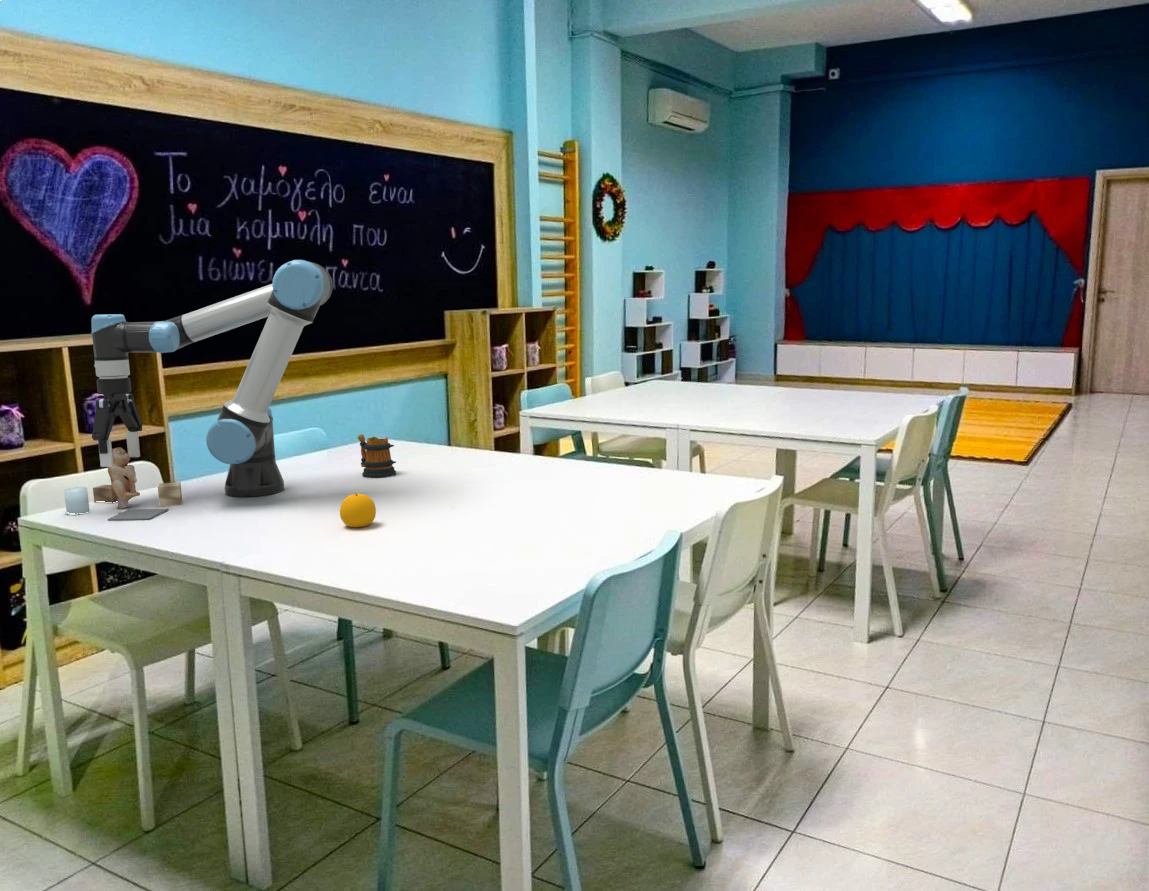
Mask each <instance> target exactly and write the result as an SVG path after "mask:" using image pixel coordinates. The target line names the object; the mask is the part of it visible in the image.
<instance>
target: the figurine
mask: <svg viewBox="0 0 1149 891" xmlns="http://www.w3.org/2000/svg"><path fill="white" fill-rule="evenodd" d="M112 458H113V466H112V467H107V473H108V475H109V477H110V485H111V489H112V491H113V493H114V495H115V497H116V499H117V501H118V502H117V508H118V509H124V508H126V509H127V508H130V506H131V504H130V503H129V501H130V500H131V499H132V498H135V497H139V496H141V492H139V491H137V490H136V483H137V481H138V480H137V473H136V469H135V466H134V465H133V464H129V461H130V460H131V457H129V454H128V452H126V450H125V449H123V447H119V446H118V447H114V448H112Z"/></svg>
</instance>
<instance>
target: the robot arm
mask: <svg viewBox="0 0 1149 891" xmlns="http://www.w3.org/2000/svg"><path fill="white" fill-rule="evenodd" d="M274 273H275V274H273V278H272V283H270V284H267V285H265V286H262V287H260V288H255V289H253V290H251V291H247V292H244V293H242V294H239V295H235V296H234V297H230V298H227V299H225V300H222V301H218V302H216V303H213V304H210V305H207V306H205V307H202V308H199V309H197V310H194V311H190V312H188V313H185V314H182V315H179V316H175V317H172V318H170V319H166V320H161V321H137V322H136V321H135V322H132V321H127V320H126V318H125V315H124V314H121V313H119V314H115V313H114V314H112V313H111V314H110V313H109V314H94V315H93V316H92V317H91V320H90V322H91V332H90V334H91V338H92V346H93V354H94V356H93V357H94V364H93V366H94V368H95V376H96V377H98V378H97V380H96V390H97V393H98V394H100V395H103V398H101V399H100V398H99V399H98V398H97V399H96V400H95V414H94V421H93V427H92V431H91V432H92V434H91V439H92V440H93V441H98V442H97V443H98V444H97V445H98V453H99V461H100V462H99V463H100V464H99V465H100V467H101V468H108V467H112V466H113V458H112V449H113V448H112V440H111V439H110V435H111V432H112V428H113V425H114V422H115V419H116V418H118V416H119V418H120V420H121V421H122V423H123V424H124V426H125V427H126V429H127V431H126V432H125V436H126V444H127V445H126V446H127V453H128V454H129V457H130V458H140V457H141V451H140V450H141V449H140V439H139V432H142V431H143V423H142V420H141V417H140V414H139V411H138V409H137V406H136V403H135V397H134V394H133V393H131V392H132V385H131V384H132V382H131V378H130V377H128V376H130V375H131V372H130V369H131V368H130V362H129V361H130V360H129V353H130V354H131V353H132V354H133V353H140V354H141V353H146V354H147V353H148V354H149V353H150V354H151V353H160V354H164V353H173V352H176V351H177V350H180V349H182V348H184V347H185V346H188V345H190V344H193V343H196V342H198V341H203V340H205V339H207V338H210V337H213V336H215V335H219V334H221V333H225V332H228V331H230V330H234V329H236V328H239V327H241V326H245V325H247V324H250V323H253V322H256V321H259V320H261V319H266V318H267V319H266V322H265V324H264V327H263V329H262V331H261V333H260V336H259V338H258V341H257V343H256V345H255V348H254V350H253V352H252V354H251V357H250V359H249V362H248V364H247V366H246V368H245V371H244V373H243V376H242V378H241V381H240V382H239V385H238V388H237V390H236V391H235V394H234V397H233V399H230V400H228V401H225V402H224V404H223V406H222V409H221V410H220V413H219V415H218V418H217V420H216V421H215V422H213V424H211V425H210V427H209V428H208V431H207V433H206V437H205V443H206V447H207V449H208V451H209V452H210V454H211V456H212V457H213V458H215V459H216V460H217V461H219V462H220V463H223V464H227V465H229V467H228V472H227V474H226V479H225V483H224V494H225V495H226V496H229V497H239V498H240V497H242V498H243V497H261V496H266V495H267V496H268V495H272V494H275V493H276V494H277V493H279V492H280V493H281V492H282V491H283V490H285V481H284V478H283V476H282V474H281V471H280V469H279V467H278V465H277V461H276V452H275V450H276V448H275V434H274V423H273V422H274V421H273V420H274V417H273V413H272V412H273V411H272V409H271V408H270V406H271V403H272V400H273V399H274V396H275V394H276V392H277V389H278V387H279V385H280V383H281V380H282V379H283V378H282V377H284V376H283V375H284V374H285V371H286V370H287V369H286V368H287V367H288V364H289V361H290V359H291V357H292V355H293V353H294V350H295V348H296V345H297V343H298V341H299V339H300V336H301V334H302V332H303V329H304V327H305V326H307V325H310V324H313V323H314V320H315V317H316V315H317V313H318V312H319V309H320V306H322V305H324V304H325V303H326V302H327V301H328V299H330V297H331V295H332V292H333V280H332V277H331V275H330V273H329V272H328V271H327V270H326V269H325V267H323V266H322V265H320V264H318V263H316V262H312V261H307V260H304V259H293V260H291V261H288V262H286V263H283V264H282V265H280V267H278V268H277V269H276V271H275V272H274Z"/></svg>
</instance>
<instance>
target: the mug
mask: <svg viewBox="0 0 1149 891" xmlns="http://www.w3.org/2000/svg"><path fill="white" fill-rule="evenodd" d="M357 440H358V441H359V446H360V454H361V460H360V461H361V462H360V466H361V468H363V472H362V473H361V474H362V477H363V478H365V479H385V478H390V477H394V476H396V475H397V471H396V470H395V466H393V465H394V464H396V463H397V460H396V461H394V460H393V459H392V457H391V450H390V449H391V448H393V447H394V446H395V445H394V444H391V443H390V442H389V437H385V438H378V437H376V436H372V437H368V438H367V439H366V438H365V435H364V434H359V435H358V436H357Z"/></svg>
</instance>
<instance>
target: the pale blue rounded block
mask: <svg viewBox="0 0 1149 891" xmlns="http://www.w3.org/2000/svg"><path fill="white" fill-rule="evenodd" d="M63 490H64V491H63V492H64V502H65V509H66V513H67V512H69V513H75V514H77V513H78V514H79V513H86V512H89V511H90V503H89V502H90V501H89V493H88V487H86V486H76V487H70V488H66V489H63ZM89 513H90V512H89ZM86 514H87V513H86Z"/></svg>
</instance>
